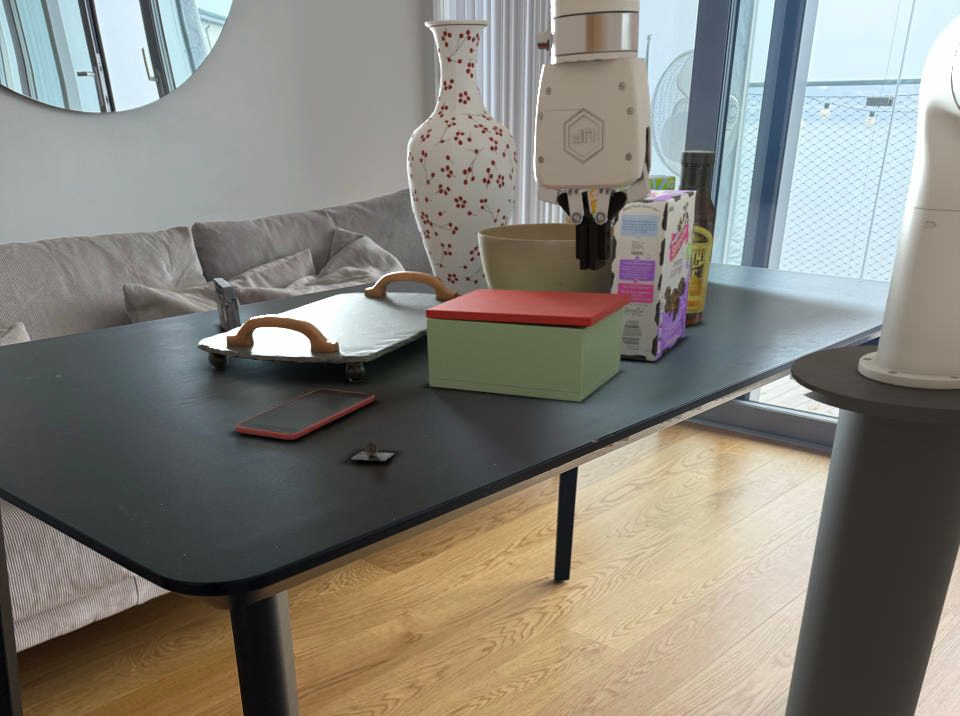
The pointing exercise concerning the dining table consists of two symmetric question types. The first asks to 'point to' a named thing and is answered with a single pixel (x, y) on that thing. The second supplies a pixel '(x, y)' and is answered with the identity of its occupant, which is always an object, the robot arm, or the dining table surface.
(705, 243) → the sauce bottle
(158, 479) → the dining table surface
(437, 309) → the lid
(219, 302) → the mini dv tape
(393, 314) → the serving tray
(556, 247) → the flower pot
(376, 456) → the square plate with knob
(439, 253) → the vase
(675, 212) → the candy box
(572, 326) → the open storage box
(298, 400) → the smartphone
